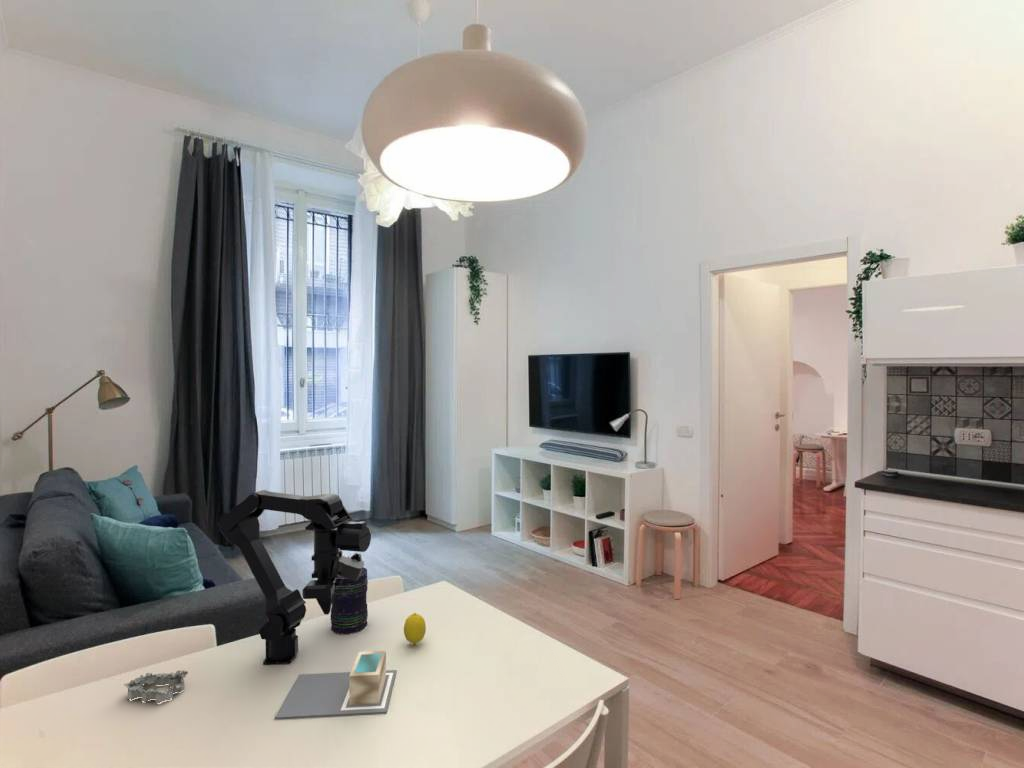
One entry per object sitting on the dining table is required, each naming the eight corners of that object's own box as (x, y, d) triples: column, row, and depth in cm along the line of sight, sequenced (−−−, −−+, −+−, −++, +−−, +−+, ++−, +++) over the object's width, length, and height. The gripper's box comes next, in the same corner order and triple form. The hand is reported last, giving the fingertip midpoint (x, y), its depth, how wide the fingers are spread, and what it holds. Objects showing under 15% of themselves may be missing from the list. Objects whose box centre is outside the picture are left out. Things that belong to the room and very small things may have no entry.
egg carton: (190, 689, 120) (190, 670, 120) (161, 708, 113) (161, 689, 113) (151, 682, 123) (151, 664, 123) (120, 701, 115) (120, 682, 115)
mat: (274, 719, 109) (274, 717, 109) (299, 676, 125) (299, 674, 125) (386, 713, 111) (386, 711, 111) (396, 671, 127) (396, 669, 127)
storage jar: (334, 619, 155) (334, 566, 154) (370, 617, 156) (370, 565, 156) (326, 635, 145) (326, 579, 145) (364, 633, 146) (364, 577, 146)
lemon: (421, 650, 136) (421, 618, 136) (400, 648, 138) (400, 616, 138) (428, 640, 142) (428, 609, 142) (408, 638, 143) (408, 607, 143)
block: (378, 674, 113) (378, 703, 113) (385, 650, 123) (385, 677, 123) (349, 675, 113) (349, 704, 113) (358, 652, 123) (358, 678, 123)
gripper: (352, 560, 121) (353, 630, 121) (368, 536, 140) (368, 597, 140) (301, 561, 120) (301, 632, 120) (323, 537, 139) (323, 598, 139)
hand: (326, 613), depth 130 cm, fingers closed
